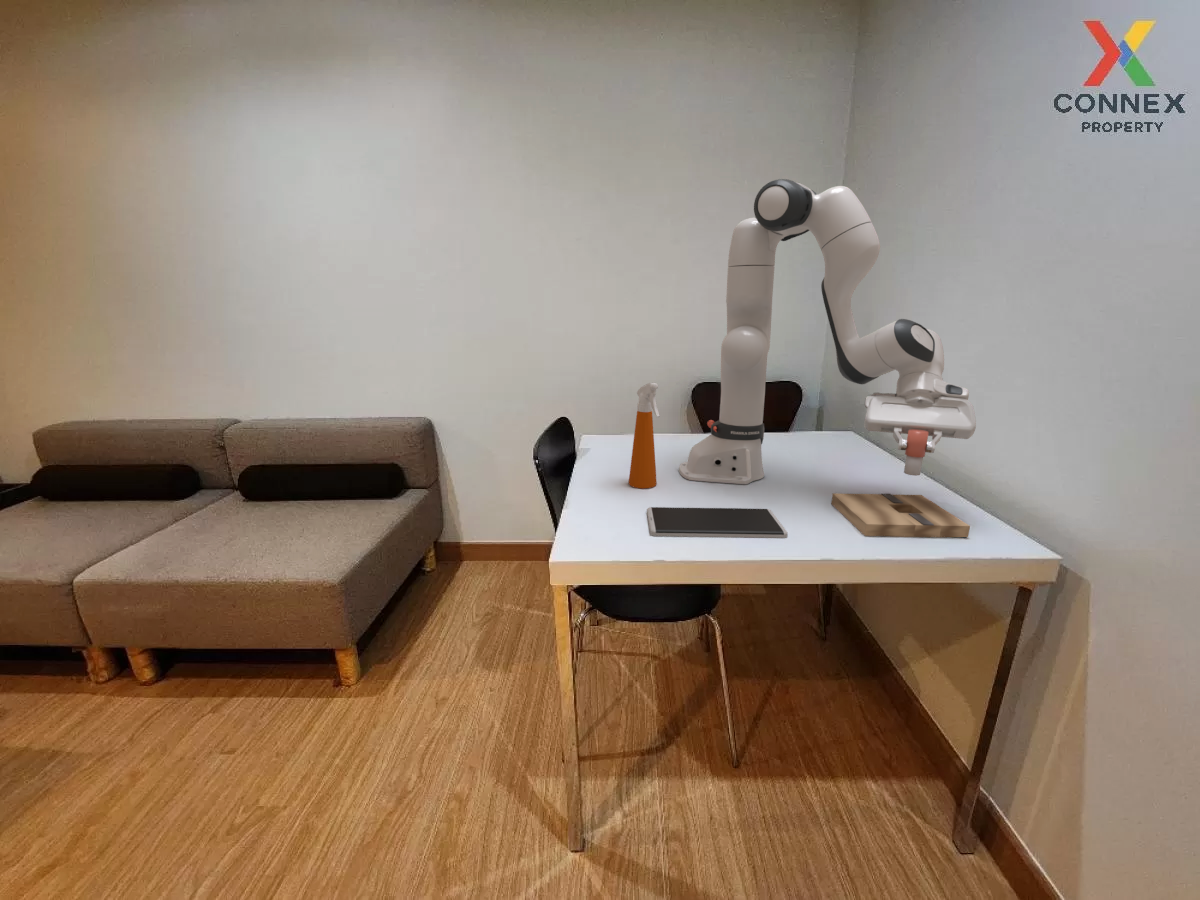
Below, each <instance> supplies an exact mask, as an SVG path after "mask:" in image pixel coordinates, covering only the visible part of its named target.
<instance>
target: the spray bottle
mask: <svg viewBox="0 0 1200 900" xmlns="http://www.w3.org/2000/svg"><path fill="white" fill-rule="evenodd" d="M658 387H659V385H658V383H656V382H649V383H646V384H645V385H643V386H640V388H639V389H638V390H637V391H636V394H637V396H638V402H637V411H636V418H635V424H634V425H635V427H634V434H633V441H632V451H631V460H630V467H629V477H628V485H629V486H630V487H631V488H632V487H633V488H635V489H643V490H644V489H645V490H646V489H652V488H655V487H656V485H657V484H658V483H657V482H658V481H657V467H656V466H657V465H656V455H655V454H656V452H655V450H656V449H655V436H654V435H655V434H654V420H653V413H654V416H655V417H656V418H660V414H659V409H658V406H657V401H656V400H657V399H656V394H657V393H656V392H657V389H659V388H658Z"/></svg>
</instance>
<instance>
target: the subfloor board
mask: <svg viewBox="0 0 1200 900" xmlns="http://www.w3.org/2000/svg"><path fill="white" fill-rule="evenodd" d="M831 495H832V496H831V501H830V502H831V505H832V506H833V507H834V509H836V510H837V511H839V513H840V514H841V515H842V516H843V517H844V518H846V519H847V520H848V521H849V522H850V523H851V524H852V525H853V526H854V527H855V528H856V529H857V530H858V531H860V533H861V534H862V535H863V536H864V537H895V538H897V537H901V538H903V537H905V538H947V537H968V538H969V534H970V529H971V526H970V524H968V523H966V522H964V521H963V520H961V519H960V518H959V517H956V516H955V515H954V514H952V513H950V512H949V511H947V510H946V509H945V508H943V507H941V506H939V505H938V504H936V503H935V502H933V501H932V500H930V499H929V498H927V497H926V496H924V495H922V494H893V493H892V494H891V493H887V492H885V493H884V492H883V493H881V494H880V493H878V494H877V493H872V494H871V493H837V492H836V493H832V494H831Z"/></svg>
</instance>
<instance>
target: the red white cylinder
mask: <svg viewBox="0 0 1200 900" xmlns="http://www.w3.org/2000/svg"><path fill="white" fill-rule="evenodd" d="M928 433H929V432H928V431H925V430H918V429H910V430H908V434H907V437H906V440H907V448H906V450H904V455H905V464H904V469H903V473H904V474H905V475H908V476H921V473H922V466H923V460H924V457H926V453H927V452H926V446H927V441H928V438H929V436H928Z"/></svg>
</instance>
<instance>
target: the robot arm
mask: <svg viewBox="0 0 1200 900" xmlns="http://www.w3.org/2000/svg"><path fill="white" fill-rule="evenodd" d="M753 213H754V217H748V218H745V219H743V220H741V221H740V222H738V223H737V224H736V225H735V227H734V229H733V232H732V235H731V240H730V244H729V245H730V246H729V253H728V260H727V262H728V263H727V275H726V276H727V277H726V278H727V279H726V280H727V281H726V296H725V297H726V300H725V303H726V335H725V336H724V338H723V340H722V343H721V346H720V347H721V348H720V349H721V351H720V404H719V419H718V420H717V421H714V420H712V419H710V420H709V419H708V421H707V423H706V424H707V426H708V428H710V434H709V435H708V436H706V437H705V438H704V439H702V440H701V441H699V442H698V443H696V444H695V445H692V447H691V449H690V450H689V453H688V457H687V461H683V462H682V463H680V465H679V468H678V472H679V475H680V476H681V477H683V478H684V479H686V480H689V481H696V482H698V481H699V482H710V483H711V482H712V483H724V484H725V483H726V484H735V485H736V484H737V485H748V484H751V482H754V481H758V480H761V479H763V478H765V476H766V475H765V471H764V464H763V457H762V456H763V454H762V444H764V443H763V441H764V437H765V423H763V421H764V410H765V409H764V408H765V398H766V397H765V396H766V378H767V365H768V354H769V352H770V346H771V335H772V334H771V333H772V332H771V331H772V312H773V309H772V308H773V293H774V280H775V279H774V278H775V263H776V262H775V261H776V251H777V248H778V246H779V243H780V242H781V241H782V242H787V241H788V240H791V239H793V238H794V239H795V238H796V237H799V236H802V235H804V234H806V233H808V232H810V233H811V234H812V235H813V236H814V238H815V239H816V241H817V244H818V246H819V249H820V251H821V252H822V256H823V260H824V277H823V279H822V281H821V284H820V285H821V289H820V290H821V294H822V299H823V303H824V304H823V305H824V307H825V312H826V315H827V319H828V323H829V328H830V329H831V330H830V331H831V335H832V338H833V339H832V340H833V341H834V346H835V353H836V362H837V368H838V371H839V373H840V374H841V376H842V377H843V378H845V379H846V380H848V381H849V382H852V383H853V384H858V385H866V384H868V383H871V382H872V381H874V380H875V379H878V378H880V376H883V375H886V374H889V373H890V372H893V371H897V372H898V374H899V376H898V378H897V382H896V391H895V393H893V392H890V393H889V392H885V393H884V392H873V393H871V394H868V395H867V396H866V397H865V398H864V407H865V408H866V411H865V418H864V423H863V427H864V428H865V430H866V431H868V432H879V433H891V434H892V437H893V439H894V441H895V442H896V443H897V450H899V451H905V450H906V448H907V438H906V439H905V438H903V437H902V435H904V434H905V435H908V430H910V429H918V430H925V431H928V432H929V433H928V437H932V438H931V441H928V440H927V446H926V452H925V453H928V454H934V453H935V449H936V445H937V444H938V443H939V442H940V441H941V438H947V439H948V438H949V439H950V438H951V439H961V440H963V439H964V440H968V439H970V438H971V437H973V435H974V433H975V431H976V427H977V423H976V422H977V420H976V414H975V413H976V412H975V409H974V406H973V403H972V402H971V401H970V400H969V396H970V390H969V389H968V388H966V387H963V386H960V385H956V384H953V383H950V382H947V381H944V380H943V379H944V378H943V373H944V369H945V355H944V347H943V343H942V339H941V337H940V335H939V334H938V333H937V332H935V331H934V330H932V329H929V328H926V327H924V326H923V325H922V324H920V323H918V322H916V321H913V320H910V319H907V318H899V319H898V320H895V321H892V322H890V323H888V324H885V325H884V326H882V327H880V328H878V329H877V330H874V331H872V332H870V333H868V334H865V335H864V336H862V337H860V335H859V333H858V330H857V329H858V328H857V325H856V322H855V317H854V314H853V309H852V305H851V304H852V303H851V302H852V297H853V294H854V292H855V291H856V289H857V287H858V286H859V284H860V283H861V282H862V281H863V279H864V278H865V277H866V276H868V274H869V272H870V271H871V270H872V269H873V267H874V265H875V264H876V262H877V260H878V258H879V255H880V251H881V243H880V239H879V235H878V233H877V231H876V228H875V226H874V224H873V221H872V220H871V217H870V216H869V214H868V212H867V210H866V208H865V207H864V205H863V203H862V202H861V201H860V200H859V198H858V196H857V195H856V194H855V193H854V191H853V190H852V189H851V188H849V187H847V186H844V185H836V186H832V187H830V188H827V189H826V190H824V191H822V192H819V193H818V194H817V193H816V192H815V191H814V190H812V189H810V188H809V186H806V185H805V184H803V183H802V182H801V183H800V182H796V181H793V180H791V179H786V178H781V179H780V178H779V179H774V180H771V181H769V182H768V183H766V184H765V185H763V186H762V187H761V188H760V190H759V191H758V192H757V194H756V196H755V198H754V202H753Z"/></svg>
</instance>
